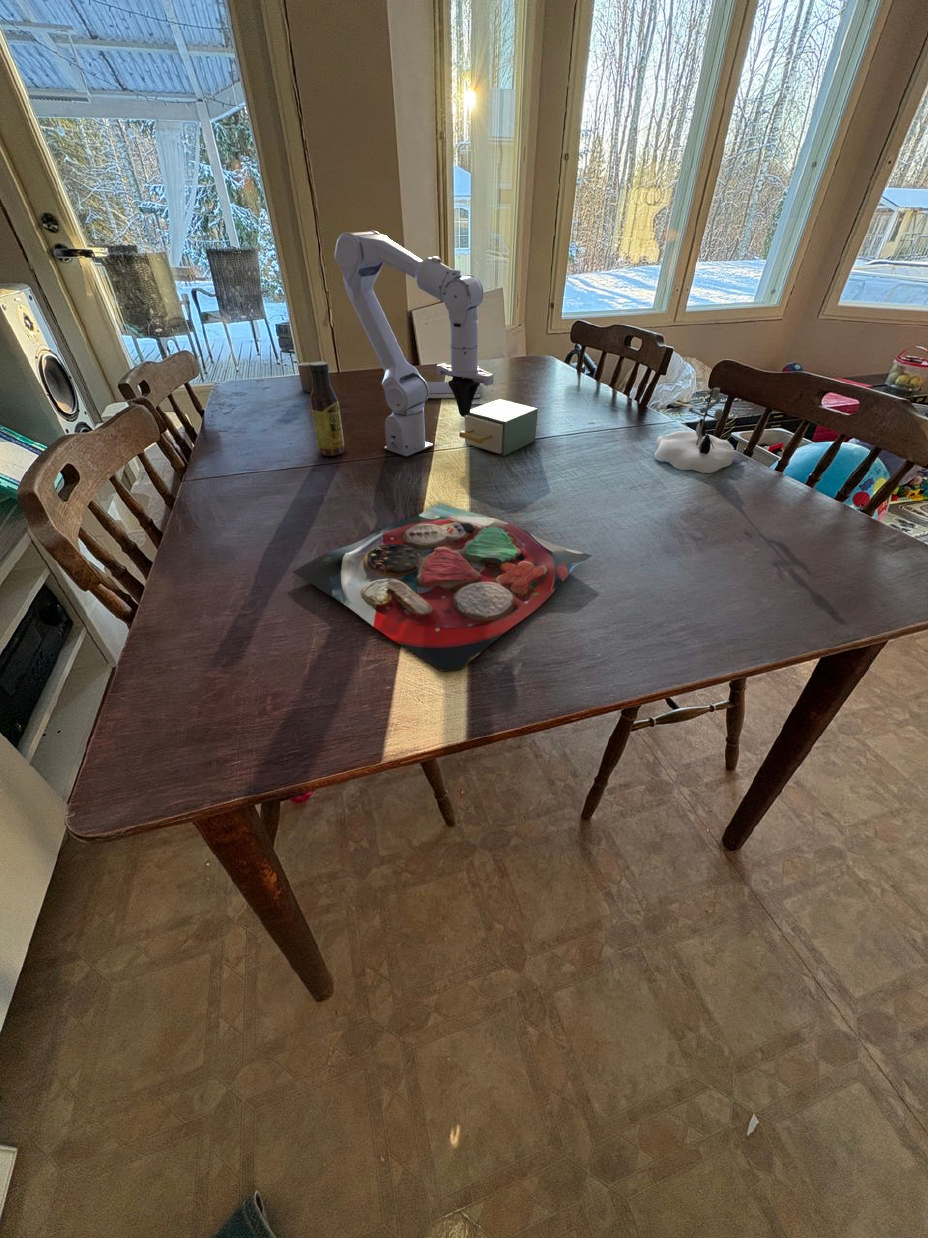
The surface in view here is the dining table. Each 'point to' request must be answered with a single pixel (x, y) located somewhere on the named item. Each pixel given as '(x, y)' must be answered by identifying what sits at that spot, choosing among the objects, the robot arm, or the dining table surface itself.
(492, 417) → the cabinet
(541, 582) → the platter
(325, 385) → the sauce bottle
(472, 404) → the tape measure
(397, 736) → the dining table surface
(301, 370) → the wooden block
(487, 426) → the drawer
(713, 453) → the figurine
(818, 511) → the dining table surface
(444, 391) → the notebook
